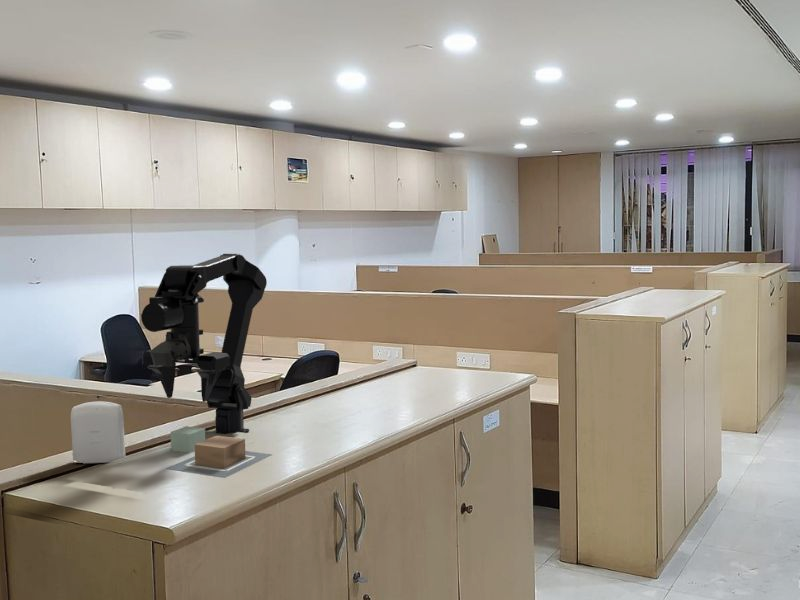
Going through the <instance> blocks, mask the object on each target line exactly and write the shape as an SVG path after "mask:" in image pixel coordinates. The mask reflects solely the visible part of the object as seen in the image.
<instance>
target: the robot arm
mask: <svg viewBox="0 0 800 600" xmlns="http://www.w3.org/2000/svg"><path fill="white" fill-rule="evenodd" d="M219 278H222V280H223V281H224V282H225V283H226V285H227V286H228V287H227V293H228V296H229V300H230V301H231V307H230V312H229V316H228V321H227V325H226V331H225V334H224V338H223V342H222V343H223V344H222V348H221V352H219V351H218V352H215V351H213V352H209V353H204V350H205V349H204V348H201V346H200V345H201V343H200V336H201V335H204V329H202V328H201V329H200V317H199V316H200V315H199V312H200V311H199V304H200V303H204V301H205V299H204V298H203V297H202V296H201V295H199V293H200V292H201V291H203V290H204V289H206V288H207V284H208V283H209V282H212V281H213V280H216V279H219ZM267 283H268V282H267V278H266V276H265V274H264V273H263V271H262V270H261V269H260V268H259V267H258V266H257V265H255V264H253V263H251V262H249V261H248V260H247V259H246V258H245V257H244V256H243V255H242V254H240V253H222V254H220V255H219V256H216V257H213V258H211V259H207V260H205V261H202V262H199V263H196V264H194V265H192V264H190V265H185V264H184V265H183V264H182V265H180V264H179V265H170V266H168V267H167V268H166V269H165V272H164V273H163V276H162V278H161V281H160V283H159V285H158V288H157V291H156V292H155V294H154V296H151V297H149V301H148V302H149V303H148V304H146V306H144V308H143V310H142V312H141V315H140V316H141V317H140V319H141V322H142V325H143V328H145V329H146V330H147V331H149V332H151V333H156V332H162V331H166V334H165V340H164V341H163V342H160V343H159V344H158V345H156V346H155V347H154V348H152V349H149V350H146V351H144V353H143V355H142V365H144V366H147V368H148V369H149V370H151V371H153V372H154V373H155V374H156V375H157V377H158V378H159V380H160V383H161V386H162V388H163V390H164V393H165V396H166V398H168V399H171V398H172V397H173V393H174V387H175V377H176V369H177V367H176V365H177V364H178V363H179V364H188V365H189V364H190V365H197V366H198V368H199V370H196V372H197V374H198V375H199V377H200V387H201V388H200V389H201V400H202V402H206V404H207V407H208V408H209V409H215V417H214V421H215V434H219V435H226V434H227V435H228V434H232V433H233V434H234V433H243V434H245V433H249V432H250V428H245V426H244V425H245V424H244V422H245V421H244V410H249V408H251V405H252V404H251V403H252V396H251V394H250V393H249V392H248V391H247V389H246V388H245V381H246V379H245V377H244V373H243V371H242V361H243V358H244V357H243V356H244V353H245V352H244V351H245V347H246V342H247V340H248V339H247V338H248V333H249V329H250V324H251V319H252V314H253V309H254V308H255V307H256V306H257V305H258V304H259V302H260V301H261V300H262V299H263V295H264V294H265V293H264V292H265V289H266V288H267ZM167 330H169V331H167Z"/></svg>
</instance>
